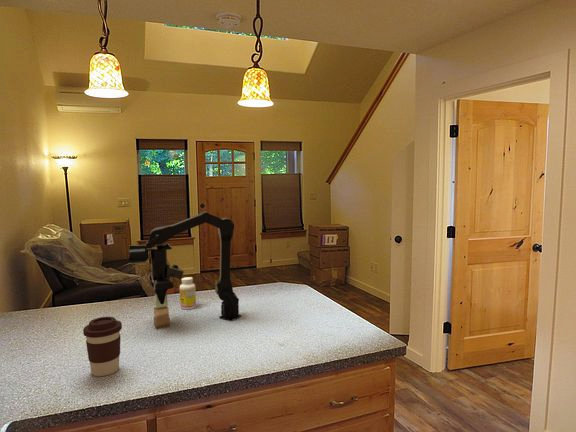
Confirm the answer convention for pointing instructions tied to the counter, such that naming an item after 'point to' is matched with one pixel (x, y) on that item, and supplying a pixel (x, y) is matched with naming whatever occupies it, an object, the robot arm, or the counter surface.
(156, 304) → the sage block
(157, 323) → the walnut base
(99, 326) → the coffee cup
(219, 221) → the robot arm
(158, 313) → the oak block
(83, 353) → the counter surface
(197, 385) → the counter surface
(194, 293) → the supplement bottle
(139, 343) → the counter surface
